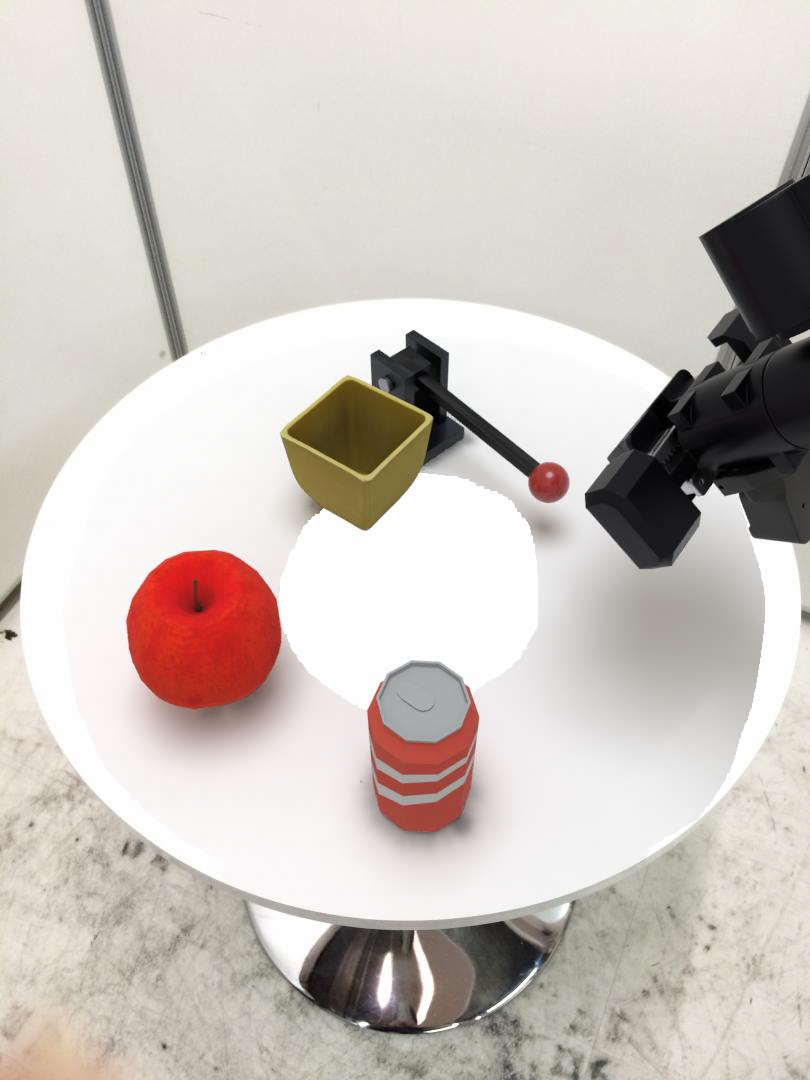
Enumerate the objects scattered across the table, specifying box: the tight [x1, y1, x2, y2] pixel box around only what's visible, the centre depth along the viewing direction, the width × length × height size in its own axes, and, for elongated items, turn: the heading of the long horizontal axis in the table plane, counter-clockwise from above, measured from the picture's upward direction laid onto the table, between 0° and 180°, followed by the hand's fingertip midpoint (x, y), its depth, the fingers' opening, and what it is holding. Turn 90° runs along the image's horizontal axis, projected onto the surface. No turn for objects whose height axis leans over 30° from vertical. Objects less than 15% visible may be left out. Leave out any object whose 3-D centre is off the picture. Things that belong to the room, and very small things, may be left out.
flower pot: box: [279, 374, 433, 532], centre depth 70 cm, size 9×9×9 cm
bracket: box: [369, 329, 465, 465], centre depth 76 cm, size 8×6×9 cm
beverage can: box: [366, 659, 480, 833], centre depth 53 cm, size 6×6×12 cm
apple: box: [125, 549, 282, 711], centre depth 58 cm, size 10×10×12 cm
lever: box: [390, 346, 571, 504], centre depth 71 cm, size 19×3×3 cm, turn 43°
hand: (613, 460), depth 61 cm, fingers closed
